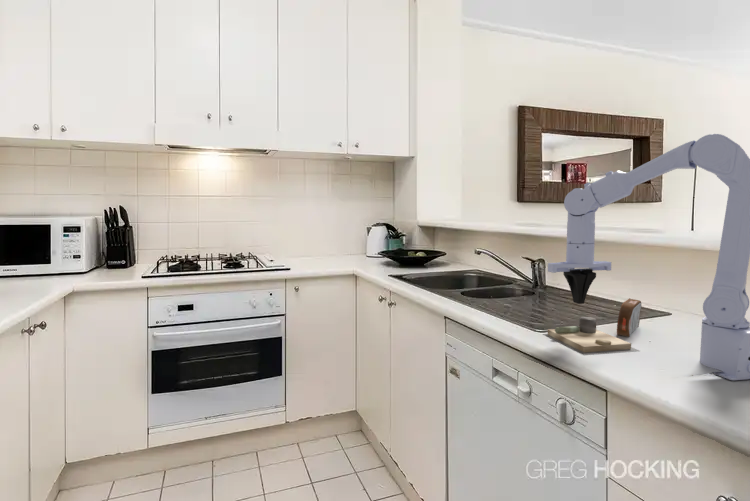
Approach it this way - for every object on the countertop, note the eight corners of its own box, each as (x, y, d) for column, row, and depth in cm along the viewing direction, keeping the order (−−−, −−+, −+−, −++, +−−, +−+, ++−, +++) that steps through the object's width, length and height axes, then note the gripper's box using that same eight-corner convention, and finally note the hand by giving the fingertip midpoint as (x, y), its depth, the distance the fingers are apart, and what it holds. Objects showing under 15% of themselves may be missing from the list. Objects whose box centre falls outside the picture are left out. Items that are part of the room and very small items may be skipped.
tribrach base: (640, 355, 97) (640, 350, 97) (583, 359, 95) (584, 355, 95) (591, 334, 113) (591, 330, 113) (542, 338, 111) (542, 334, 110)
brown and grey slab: (628, 327, 120) (629, 295, 119) (642, 329, 118) (643, 296, 117) (614, 340, 108) (616, 305, 107) (630, 343, 106) (631, 307, 105)
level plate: (546, 334, 110) (547, 317, 110) (589, 331, 112) (590, 314, 112) (583, 352, 96) (583, 332, 96) (631, 349, 98) (631, 329, 98)
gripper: (598, 241, 109) (596, 298, 110) (541, 242, 107) (539, 300, 108) (618, 243, 102) (616, 304, 103) (558, 245, 100) (556, 307, 101)
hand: (578, 302), depth 105 cm, fingers closed
